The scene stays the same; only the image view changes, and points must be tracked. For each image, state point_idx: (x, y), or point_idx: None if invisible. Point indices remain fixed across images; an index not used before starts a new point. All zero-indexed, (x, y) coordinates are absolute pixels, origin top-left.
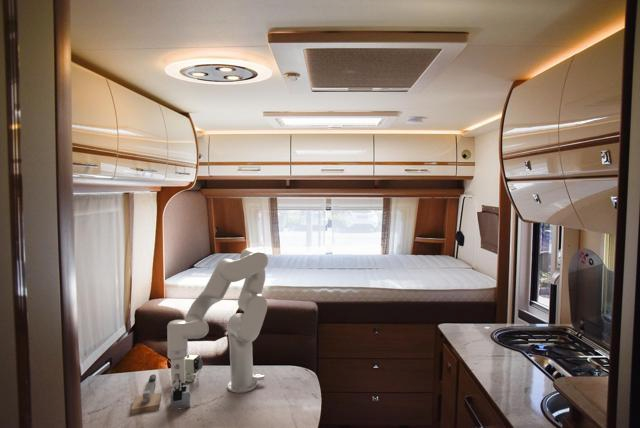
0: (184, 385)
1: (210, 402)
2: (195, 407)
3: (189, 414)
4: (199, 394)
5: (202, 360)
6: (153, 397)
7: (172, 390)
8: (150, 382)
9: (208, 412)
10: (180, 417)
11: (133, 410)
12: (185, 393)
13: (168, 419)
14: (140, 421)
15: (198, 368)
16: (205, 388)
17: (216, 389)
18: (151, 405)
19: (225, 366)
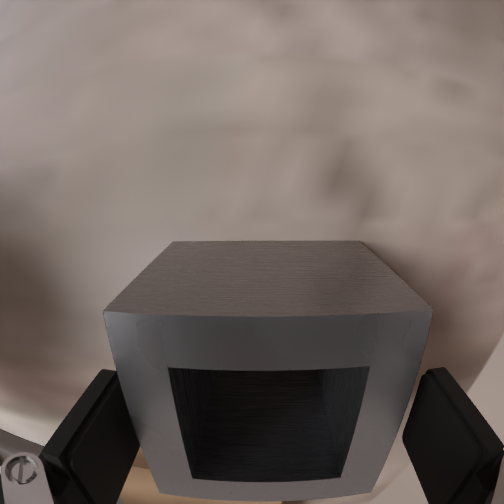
0: (131, 387)
1: (328, 36)
2: (382, 186)
3: (469, 243)
4: (111, 151)
5: None
6: (166, 494)
7: (251, 493)
8: (3, 459)
9: (488, 89)
10: (473, 309)
11: None
12: (419, 360)
13: None
14: (375, 490)
15: None
16: (26, 110)
17: (79, 7)
18: (276, 501)
19: None
